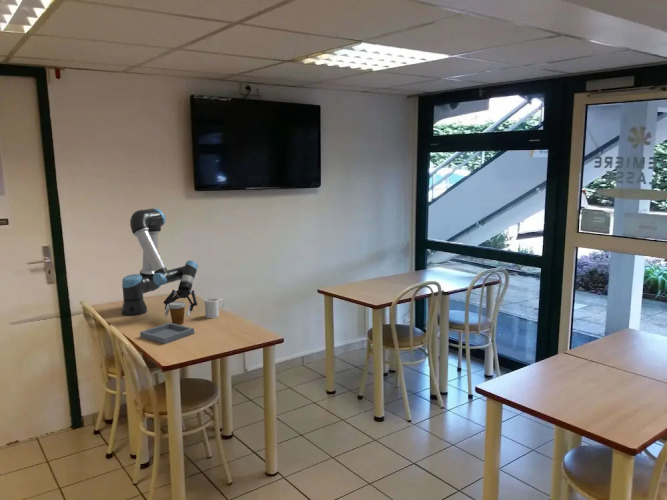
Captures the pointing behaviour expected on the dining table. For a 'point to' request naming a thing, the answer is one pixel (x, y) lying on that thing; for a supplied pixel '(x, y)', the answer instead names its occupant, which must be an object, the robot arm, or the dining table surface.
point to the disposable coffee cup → (177, 312)
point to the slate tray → (167, 333)
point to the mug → (212, 307)
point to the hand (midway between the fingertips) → (176, 315)
